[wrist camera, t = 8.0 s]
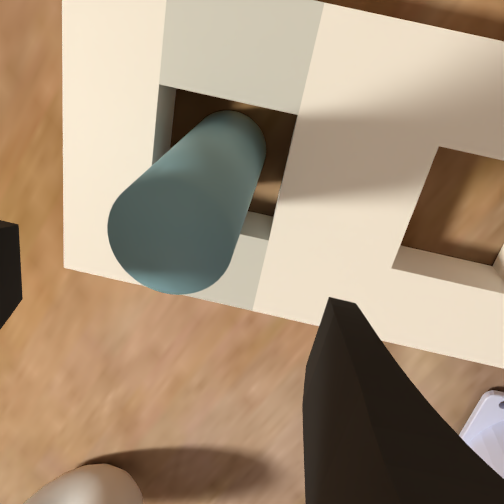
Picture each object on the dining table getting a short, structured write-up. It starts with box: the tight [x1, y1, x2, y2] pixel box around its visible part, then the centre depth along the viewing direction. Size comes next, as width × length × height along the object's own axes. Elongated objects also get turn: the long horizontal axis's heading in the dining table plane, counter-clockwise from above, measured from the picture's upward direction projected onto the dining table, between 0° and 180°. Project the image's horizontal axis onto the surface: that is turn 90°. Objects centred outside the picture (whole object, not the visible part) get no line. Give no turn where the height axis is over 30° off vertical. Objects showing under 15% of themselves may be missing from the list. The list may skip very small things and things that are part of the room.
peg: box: [107, 110, 266, 295], centre depth 15 cm, size 3×3×9 cm
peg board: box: [62, 0, 504, 368], centre depth 18 cm, size 22×12×2 cm, turn 79°
